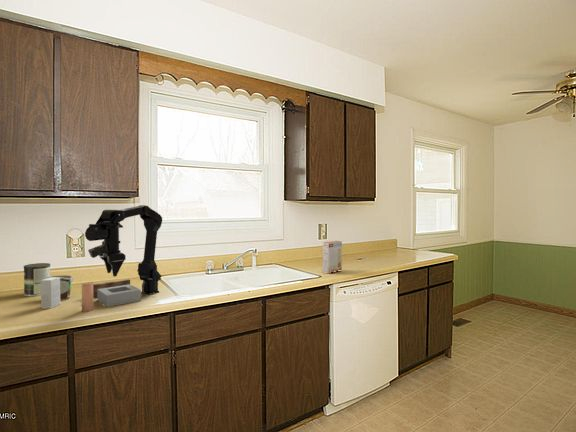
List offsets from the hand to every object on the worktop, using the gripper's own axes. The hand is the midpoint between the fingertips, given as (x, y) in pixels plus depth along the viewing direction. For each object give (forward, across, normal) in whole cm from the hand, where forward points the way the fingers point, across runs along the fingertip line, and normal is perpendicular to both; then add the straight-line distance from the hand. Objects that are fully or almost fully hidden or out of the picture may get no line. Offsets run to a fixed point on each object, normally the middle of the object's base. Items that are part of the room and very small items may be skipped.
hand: (111, 274), depth 139 cm
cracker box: (+15, +13, +132) cm, 134 cm away
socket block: (+14, -6, +4) cm, 15 cm away
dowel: (+13, +1, -9) cm, 16 cm away
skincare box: (+14, -14, -20) cm, 28 cm away
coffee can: (+14, -44, -22) cm, 51 cm away
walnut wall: (+14, -19, +4) cm, 24 cm away
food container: (+14, -28, -15) cm, 34 cm away
